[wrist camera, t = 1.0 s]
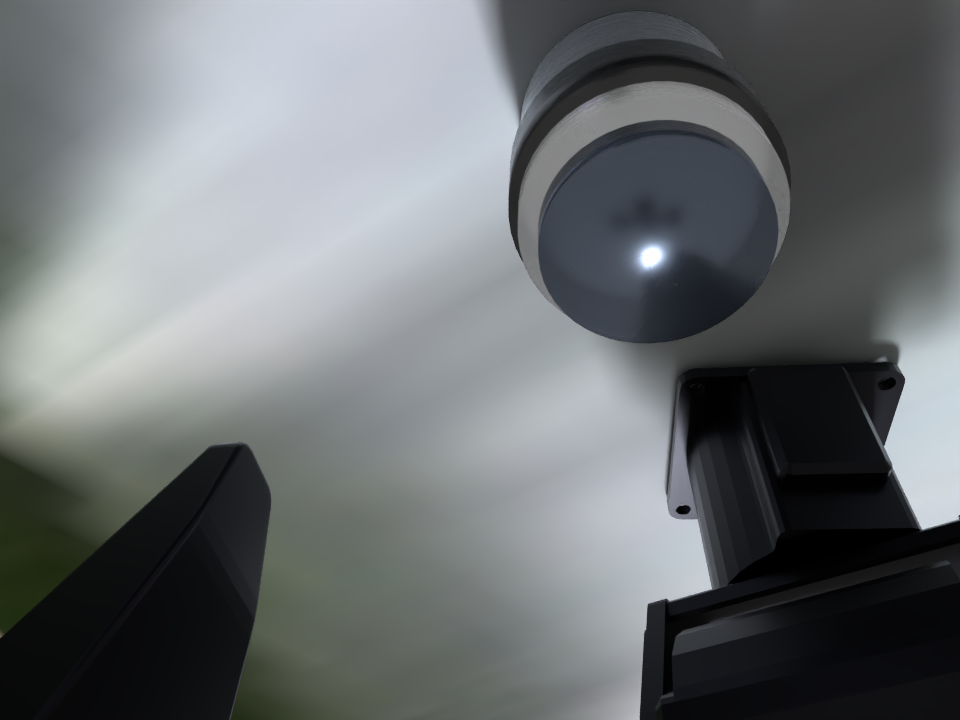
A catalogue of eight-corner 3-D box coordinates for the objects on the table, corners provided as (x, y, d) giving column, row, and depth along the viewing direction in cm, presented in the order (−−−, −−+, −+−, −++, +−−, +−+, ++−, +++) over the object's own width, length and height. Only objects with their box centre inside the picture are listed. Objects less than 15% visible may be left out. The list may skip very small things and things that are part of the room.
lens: (730, 217, 21) (787, 360, 16) (519, 228, 22) (515, 370, 17) (758, -9, 17) (840, 92, 13) (505, 11, 18) (495, 115, 13)
